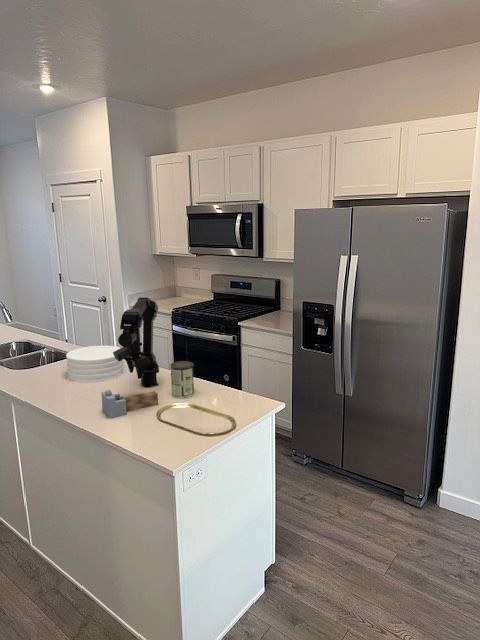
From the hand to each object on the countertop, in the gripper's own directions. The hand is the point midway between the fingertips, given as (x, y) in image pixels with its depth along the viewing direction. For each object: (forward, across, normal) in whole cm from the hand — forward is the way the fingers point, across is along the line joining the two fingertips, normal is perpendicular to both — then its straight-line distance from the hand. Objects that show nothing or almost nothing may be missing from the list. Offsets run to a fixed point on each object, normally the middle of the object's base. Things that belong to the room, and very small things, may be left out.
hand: (135, 375), depth 190 cm
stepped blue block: (+11, +7, -13) cm, 18 cm away
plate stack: (+13, -48, -3) cm, 49 cm away
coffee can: (+12, +4, +20) cm, 24 cm away
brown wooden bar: (+11, +7, -2) cm, 14 cm away
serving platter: (+12, +32, +12) cm, 36 cm away
